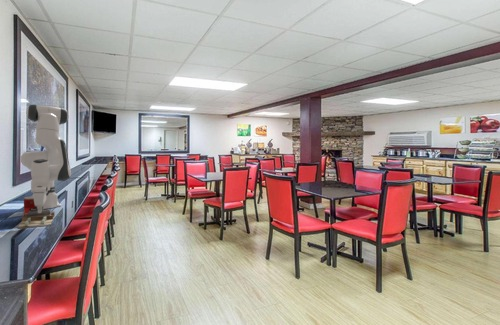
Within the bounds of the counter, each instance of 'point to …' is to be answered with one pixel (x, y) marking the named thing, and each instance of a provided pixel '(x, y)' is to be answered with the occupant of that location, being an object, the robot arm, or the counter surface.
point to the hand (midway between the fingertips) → (40, 211)
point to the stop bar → (35, 213)
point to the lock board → (36, 221)
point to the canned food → (29, 204)
